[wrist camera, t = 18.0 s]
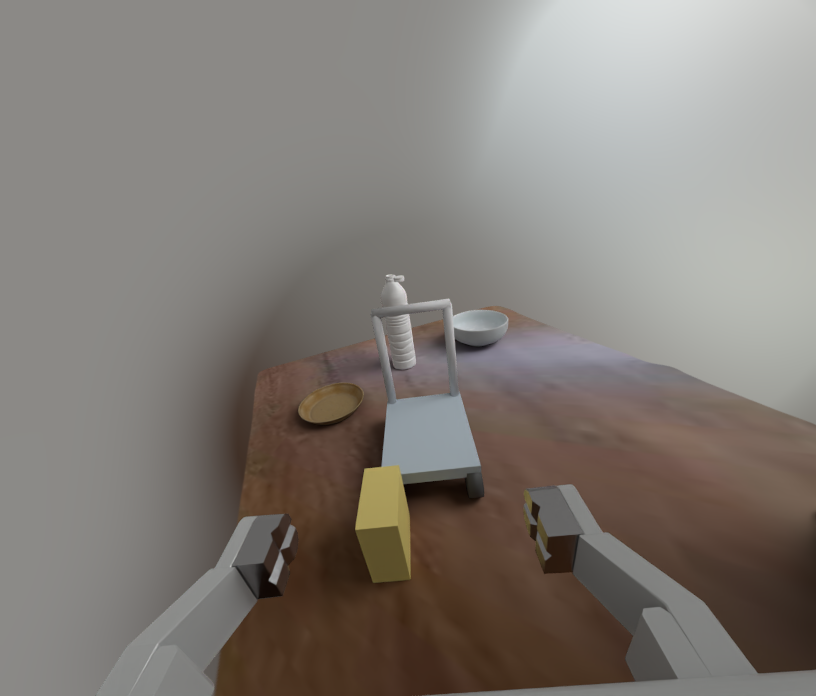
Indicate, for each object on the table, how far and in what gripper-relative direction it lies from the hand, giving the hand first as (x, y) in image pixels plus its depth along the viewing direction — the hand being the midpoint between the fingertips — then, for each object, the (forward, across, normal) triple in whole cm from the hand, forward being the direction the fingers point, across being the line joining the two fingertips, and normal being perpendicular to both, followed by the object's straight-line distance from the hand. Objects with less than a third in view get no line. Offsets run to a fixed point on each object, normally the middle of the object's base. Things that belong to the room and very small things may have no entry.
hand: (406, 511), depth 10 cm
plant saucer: (+49, +21, +30) cm, 61 cm away
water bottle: (+65, +4, +30) cm, 72 cm away
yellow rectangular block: (+17, +6, +30) cm, 35 cm away
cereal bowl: (+75, -18, +30) cm, 83 cm away
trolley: (+32, 0, +30) cm, 44 cm away
